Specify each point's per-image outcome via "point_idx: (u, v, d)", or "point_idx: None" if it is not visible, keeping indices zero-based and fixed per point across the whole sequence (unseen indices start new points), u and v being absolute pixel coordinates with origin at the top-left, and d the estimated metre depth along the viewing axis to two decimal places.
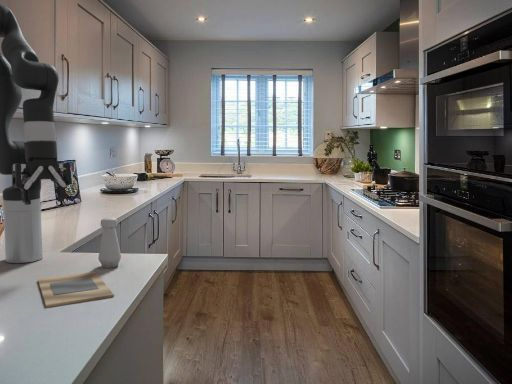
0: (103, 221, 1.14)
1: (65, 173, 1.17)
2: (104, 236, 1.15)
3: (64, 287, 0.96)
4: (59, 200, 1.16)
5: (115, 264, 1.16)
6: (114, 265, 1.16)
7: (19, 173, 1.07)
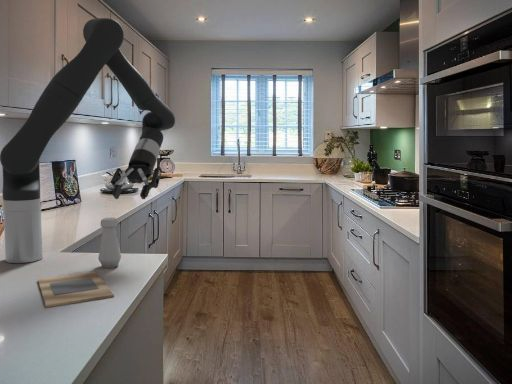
0: (103, 221, 1.14)
1: (119, 179, 1.32)
2: (104, 236, 1.15)
3: (64, 287, 0.96)
4: (116, 196, 1.27)
5: (115, 264, 1.16)
6: (114, 265, 1.16)
7: None
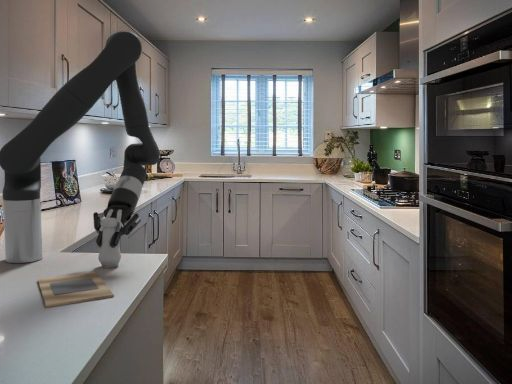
0: (103, 221, 1.14)
1: (100, 223, 1.20)
2: (104, 236, 1.15)
3: (64, 287, 0.96)
4: (100, 244, 1.15)
5: (115, 264, 1.16)
6: (114, 265, 1.16)
7: None
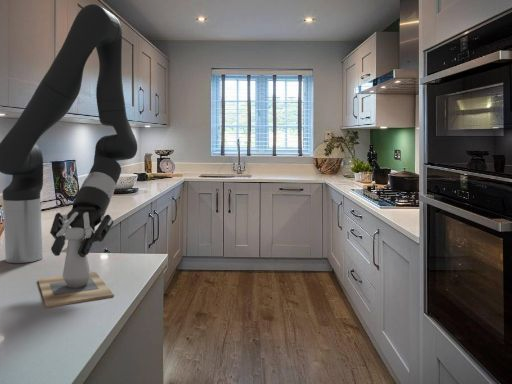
0: (68, 232, 0.95)
1: (61, 227, 1.01)
2: (69, 250, 0.96)
3: (64, 287, 0.96)
4: (57, 252, 0.96)
5: (83, 283, 0.97)
6: (82, 284, 0.97)
7: None
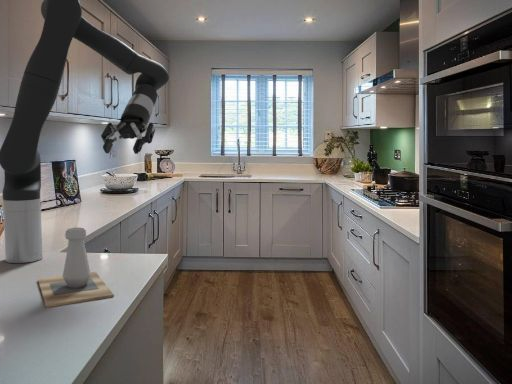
0: (68, 232, 0.95)
1: (110, 134, 1.25)
2: (70, 250, 0.96)
3: (64, 287, 0.96)
4: (107, 150, 1.20)
5: (83, 283, 0.97)
6: (82, 284, 0.97)
7: None
